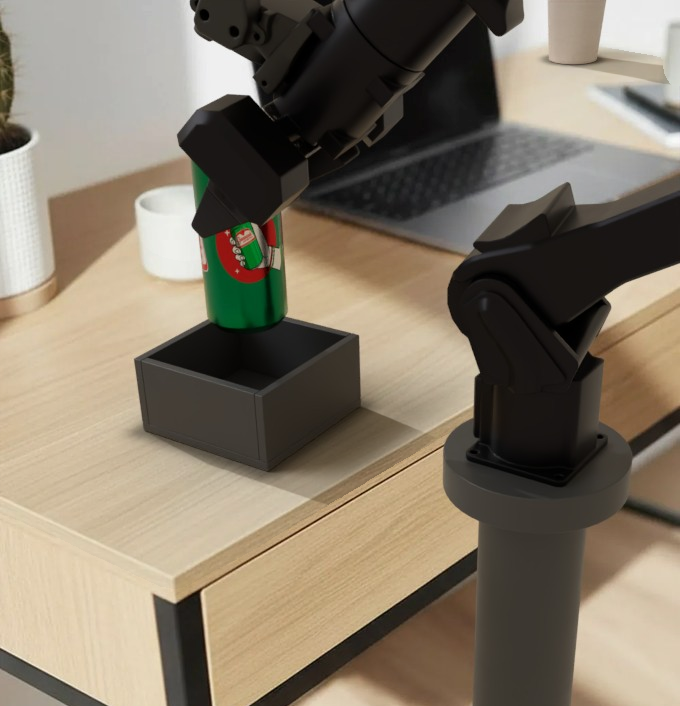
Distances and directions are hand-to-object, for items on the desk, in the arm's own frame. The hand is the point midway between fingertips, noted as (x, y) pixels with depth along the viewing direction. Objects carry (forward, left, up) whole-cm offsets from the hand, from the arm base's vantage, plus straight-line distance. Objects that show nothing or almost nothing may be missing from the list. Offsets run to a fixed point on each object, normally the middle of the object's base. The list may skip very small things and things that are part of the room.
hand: (218, 217), depth 72 cm
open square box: (-1, 0, -13) cm, 13 cm away
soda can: (-1, 0, -7) cm, 7 cm away
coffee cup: (+26, -106, -13) cm, 110 cm away
